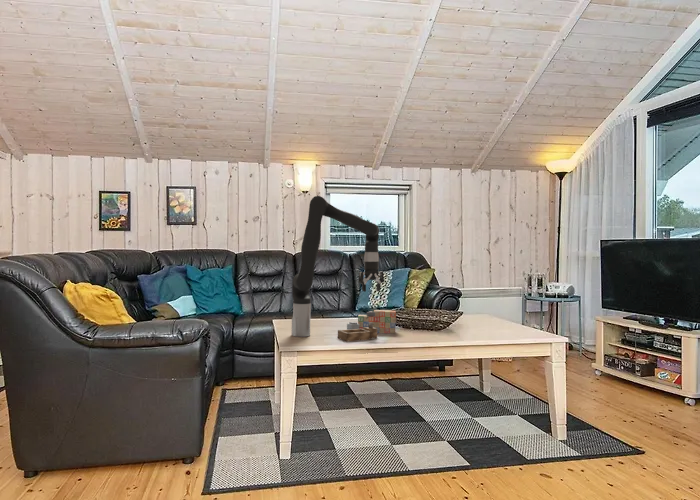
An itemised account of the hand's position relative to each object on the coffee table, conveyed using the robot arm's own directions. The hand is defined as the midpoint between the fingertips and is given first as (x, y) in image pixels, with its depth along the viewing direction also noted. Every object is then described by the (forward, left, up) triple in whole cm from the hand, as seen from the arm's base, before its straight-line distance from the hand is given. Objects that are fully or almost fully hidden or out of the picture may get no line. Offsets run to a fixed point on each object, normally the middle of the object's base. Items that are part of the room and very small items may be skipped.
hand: (371, 291), depth 265 cm
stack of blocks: (+12, +14, -25) cm, 31 cm away
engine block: (-5, +11, -25) cm, 27 cm away
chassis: (-7, 0, -24) cm, 26 cm away
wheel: (0, 0, -13) cm, 13 cm away
